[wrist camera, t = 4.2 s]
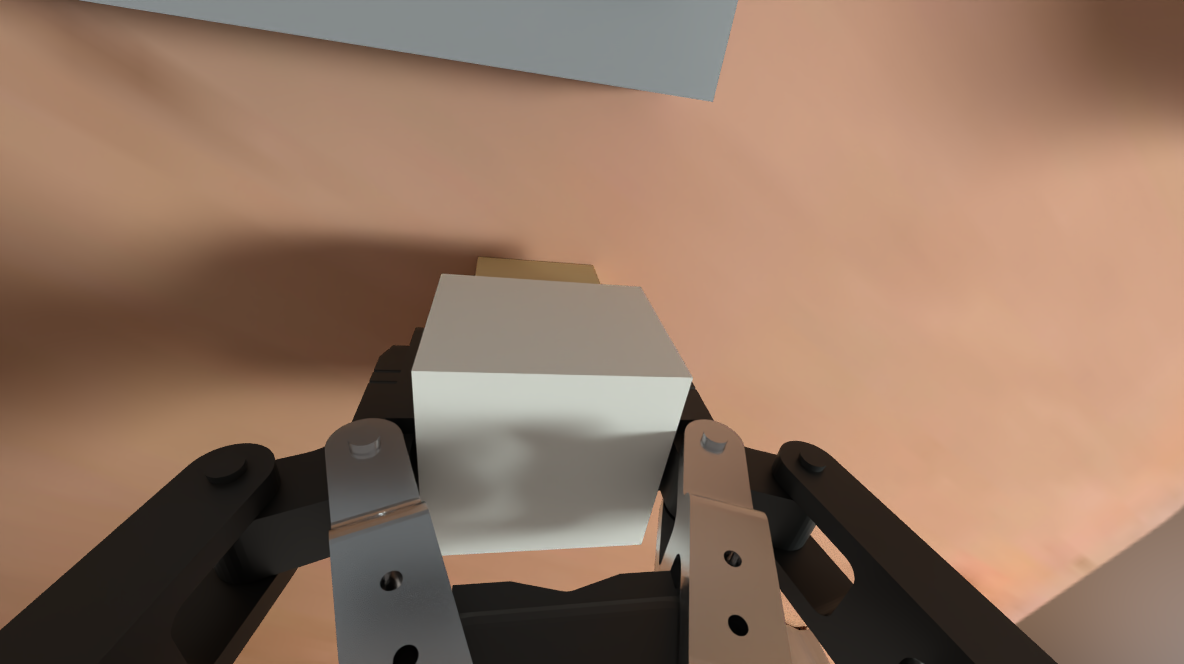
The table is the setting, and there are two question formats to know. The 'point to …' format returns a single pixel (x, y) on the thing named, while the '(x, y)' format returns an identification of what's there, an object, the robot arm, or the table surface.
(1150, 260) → the table surface
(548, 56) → the socket plate
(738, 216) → the table surface
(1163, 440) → the table surface
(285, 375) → the table surface
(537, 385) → the plug
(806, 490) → the robot arm
